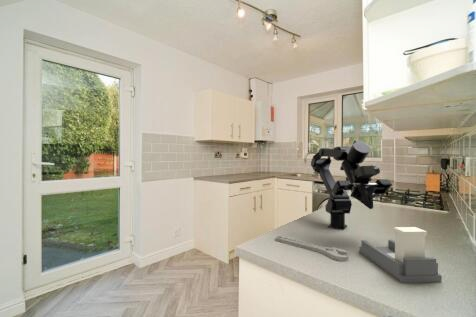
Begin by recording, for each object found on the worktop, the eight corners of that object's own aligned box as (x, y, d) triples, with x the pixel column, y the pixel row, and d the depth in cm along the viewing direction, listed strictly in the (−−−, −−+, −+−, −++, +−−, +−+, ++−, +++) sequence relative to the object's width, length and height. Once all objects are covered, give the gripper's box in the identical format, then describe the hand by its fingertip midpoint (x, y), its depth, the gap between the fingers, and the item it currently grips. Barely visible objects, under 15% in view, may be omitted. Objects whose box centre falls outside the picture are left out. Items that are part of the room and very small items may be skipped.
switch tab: (391, 263, 62) (391, 226, 62) (412, 262, 62) (413, 226, 62) (405, 272, 57) (406, 232, 57) (428, 272, 57) (429, 232, 57)
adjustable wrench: (273, 241, 84) (273, 236, 84) (283, 237, 88) (283, 232, 88) (344, 263, 66) (344, 257, 66) (352, 257, 70) (352, 251, 70)
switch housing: (359, 251, 74) (359, 234, 73) (389, 250, 74) (389, 233, 74) (402, 282, 56) (402, 260, 55) (441, 281, 56) (441, 259, 56)
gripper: (335, 157, 80) (352, 195, 69) (388, 156, 80) (413, 193, 69) (326, 177, 88) (340, 213, 77) (374, 176, 88) (394, 212, 78)
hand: (371, 208), depth 75 cm, fingers closed
